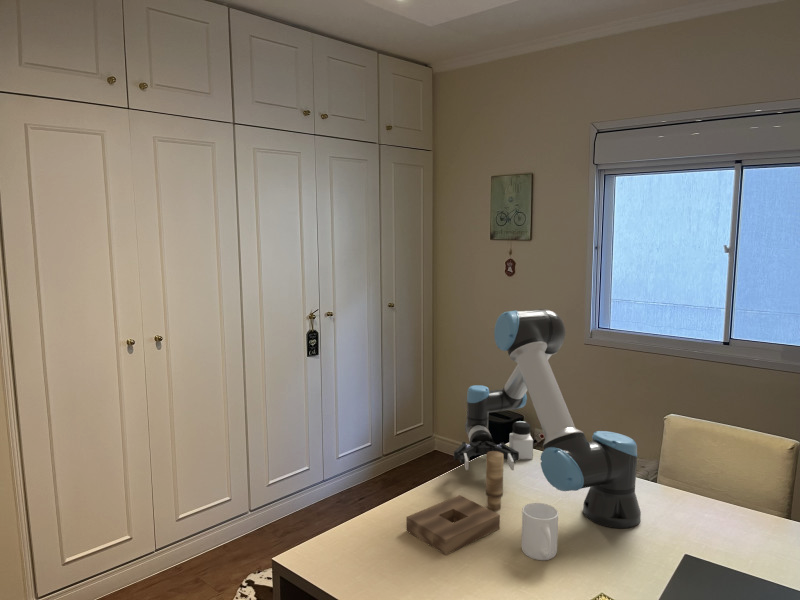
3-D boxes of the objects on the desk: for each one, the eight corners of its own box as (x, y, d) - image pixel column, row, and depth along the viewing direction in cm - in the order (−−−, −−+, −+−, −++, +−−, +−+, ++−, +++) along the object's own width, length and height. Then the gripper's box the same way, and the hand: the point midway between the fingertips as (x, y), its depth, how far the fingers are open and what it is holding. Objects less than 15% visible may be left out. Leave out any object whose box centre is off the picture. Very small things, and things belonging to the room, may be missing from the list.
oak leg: (506, 508, 167) (507, 454, 165) (494, 513, 164) (495, 458, 162) (493, 502, 171) (494, 449, 169) (481, 507, 168) (482, 453, 166)
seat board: (499, 528, 156) (499, 514, 155) (445, 555, 143) (445, 539, 143) (459, 508, 167) (459, 495, 167) (406, 530, 155) (406, 516, 154)
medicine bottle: (532, 459, 203) (533, 426, 201) (512, 459, 203) (513, 426, 202) (528, 451, 210) (529, 419, 208) (508, 451, 210) (509, 419, 209)
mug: (530, 570, 137) (532, 527, 136) (517, 543, 149) (518, 503, 147) (566, 569, 137) (568, 526, 136) (550, 542, 149) (551, 502, 148)
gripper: (517, 451, 195) (531, 478, 174) (443, 451, 196) (448, 477, 175) (518, 429, 195) (532, 453, 173) (443, 429, 195) (448, 453, 174)
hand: (489, 465), depth 174 cm, fingers open, 13 cm apart
